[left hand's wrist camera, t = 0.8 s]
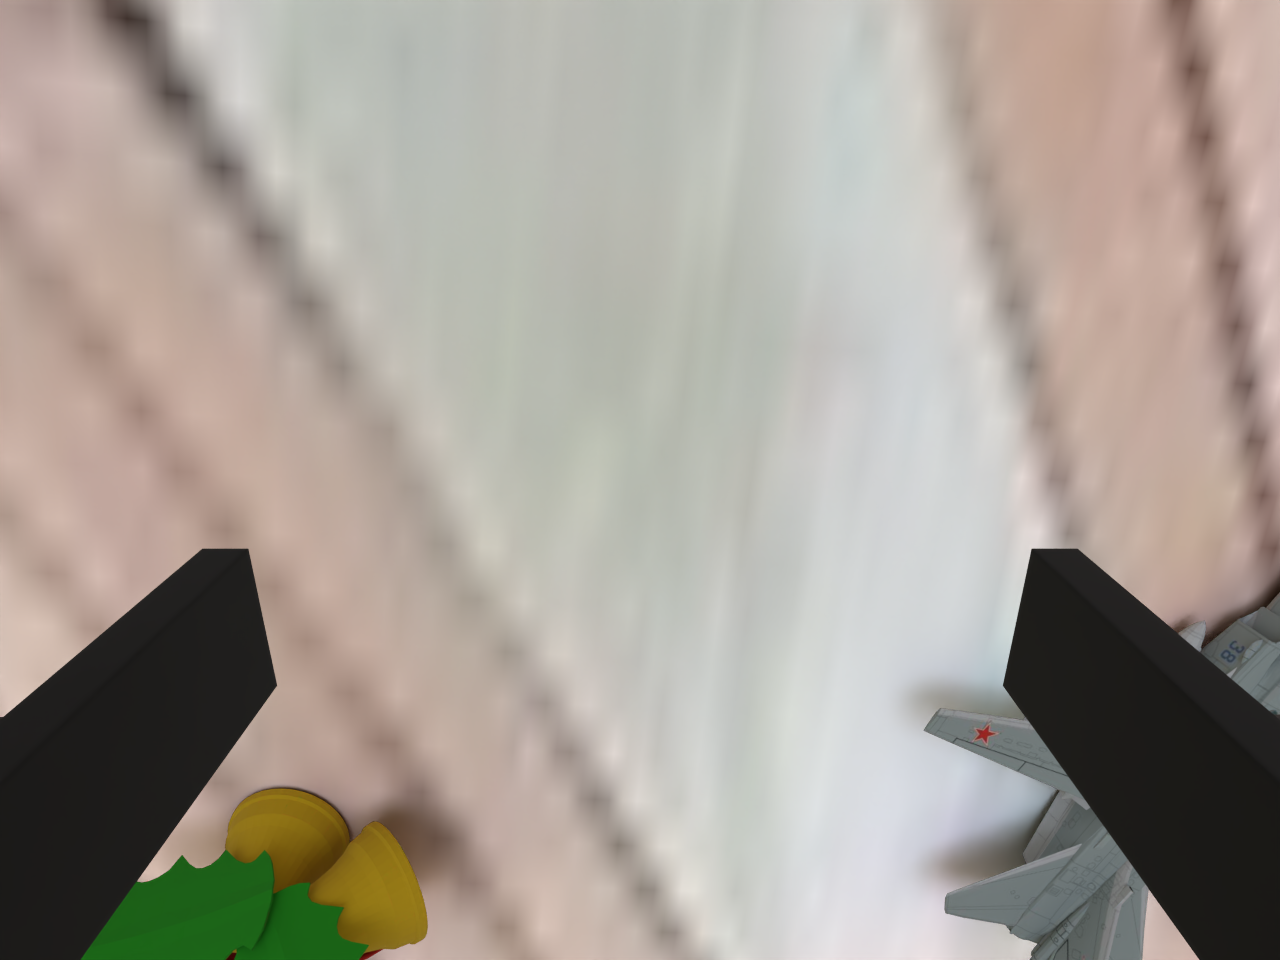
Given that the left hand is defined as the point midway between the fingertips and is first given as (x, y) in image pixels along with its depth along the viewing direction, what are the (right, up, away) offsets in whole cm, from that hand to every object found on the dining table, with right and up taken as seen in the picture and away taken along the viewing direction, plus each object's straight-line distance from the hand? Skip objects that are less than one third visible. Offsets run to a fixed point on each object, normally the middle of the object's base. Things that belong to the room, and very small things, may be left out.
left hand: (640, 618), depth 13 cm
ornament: (-23, -21, +38) cm, 49 cm away
